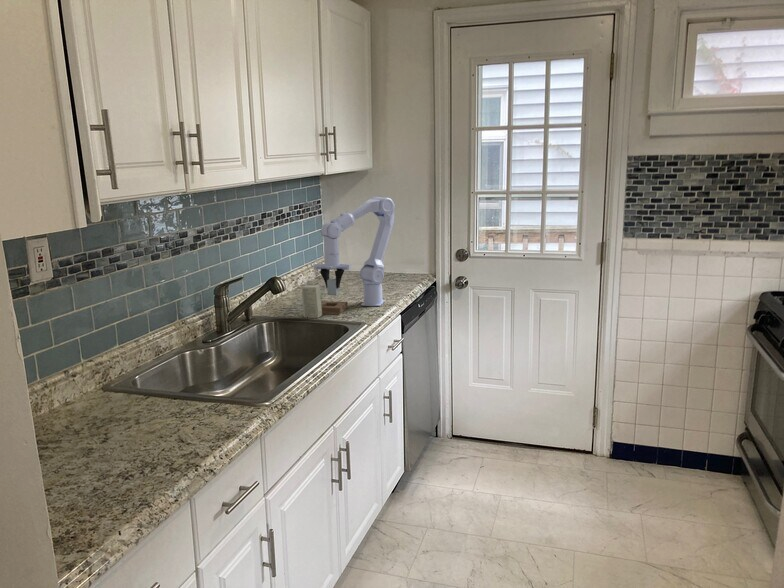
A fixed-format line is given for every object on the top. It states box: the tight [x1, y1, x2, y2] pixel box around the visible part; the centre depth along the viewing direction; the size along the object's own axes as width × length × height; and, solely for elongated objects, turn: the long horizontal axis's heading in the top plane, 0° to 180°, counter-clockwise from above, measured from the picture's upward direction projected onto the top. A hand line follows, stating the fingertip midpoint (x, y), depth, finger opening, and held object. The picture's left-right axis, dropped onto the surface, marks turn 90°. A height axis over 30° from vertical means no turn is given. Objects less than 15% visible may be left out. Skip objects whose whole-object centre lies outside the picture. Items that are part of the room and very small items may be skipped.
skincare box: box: [300, 284, 323, 319], centre depth 247 cm, size 6×4×12 cm
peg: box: [326, 277, 340, 296], centre depth 254 cm, size 4×4×6 cm
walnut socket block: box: [321, 300, 349, 315], centre depth 257 cm, size 11×11×2 cm
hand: (332, 287), depth 254 cm, fingers closed on peg, 3 cm apart
